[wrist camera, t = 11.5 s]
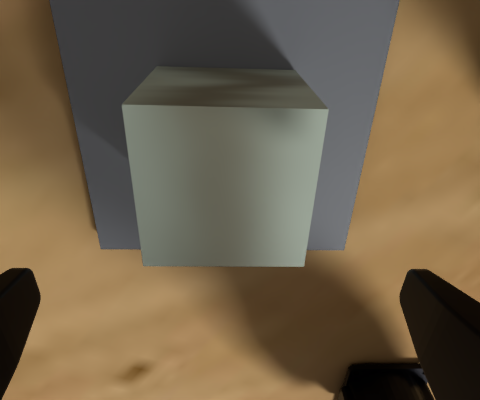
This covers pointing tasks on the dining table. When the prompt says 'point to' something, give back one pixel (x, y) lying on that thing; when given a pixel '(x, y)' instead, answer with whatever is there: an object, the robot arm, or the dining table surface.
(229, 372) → the dining table surface
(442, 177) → the dining table surface
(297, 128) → the sage block
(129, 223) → the gray board
